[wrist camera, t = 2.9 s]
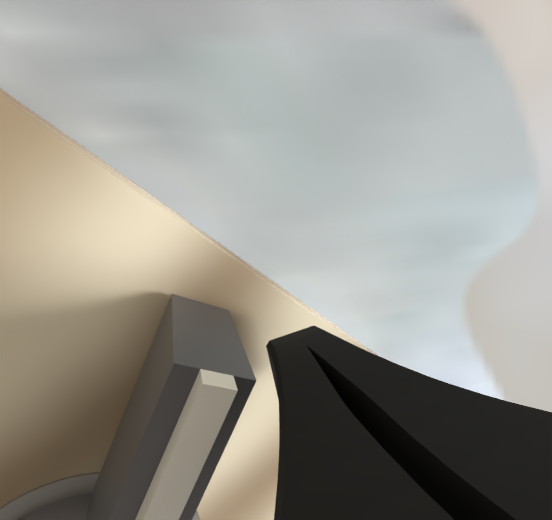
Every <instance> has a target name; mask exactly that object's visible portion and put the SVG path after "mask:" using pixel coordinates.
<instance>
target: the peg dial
mask: <svg viewBox="0 0 552 520" xmlns="http://www.w3.org/2000/svg"><path fill="white" fill-rule="evenodd" d="M255 383H256V378H255V376H254V373H253V370H252V368H251V365H250V363H249V360H248V358H247V355H246V353H245V350H244V348H243V345H242V343H241V340H240V338H239V335H238V332H237V330H236V327H235V325H234V322H233V320H232V317H231V315H230V312H229V310H227V309H223V308H220V307H216V306H213V305H209V304H206V303H202V302H199V301H196V300H192V299H189V298H185V297H182V296H178V295H175V294H172V295H171V297H170V300H169V302H168V305H167V307H166V310H165V312H164V314H163V317H162V319H161V322H160V324H159V327H158V329H157V332H156V334H155V337H154V339H153V342H152V344H151V347H150V349H149V352H148V354H147V357H146V359H145V362H144V364H143V367H142V369H141V372H140V374H139V377H138V379H137V382H136V384H135V387H134V389H133V392H132V394H131V397H130V399H129V402H128V404H127V407H126V409H125V412H124V414H123V417H122V419H121V422H120V424H119V426H118V429H117V431H116V434H115V436H114V439H113V441H112V444H111V446H110V449H109V451H108V454H107V456H106V459H105V461H104V464H103V466H102V469H101V471H100V474H99V476H98V479H97V481H96V484H95V486H94V489H93V491H92V494H88V495H83V496H77V497H72V498H69V499H65V500H61V501H57V502H55V503H52V504H49V505H46V506H44V507H41V508H39V509H36V510H34V511H32V512H30V513H28V514H26V515H24V516H22V517H20V518H19V519H17V520H192V519H193V516H194V514H195V512H196V510H197V508H198V506H199V503H200V501H201V499H202V497H203V495H204V493H205V491H206V488H207V486H208V484H209V482H210V480H211V478H212V475H213V473H214V471H215V469H216V467H217V465H218V463H219V460H220V458H221V456H222V454H223V452H224V450H225V447H226V445H227V443H228V441H229V439H230V437H231V435H232V432H233V430H234V428H235V426H236V424H237V422H238V419H239V417H240V415H241V413H242V411H243V409H244V407H245V404H246V402H247V400H248V398H249V396H250V394H251V392H252V389H253V387H254V385H255Z"/></svg>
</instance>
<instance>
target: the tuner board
mask: <svg viewBox="0 0 552 520" xmlns="http://www.w3.org/2000/svg"><path fill="white" fill-rule="evenodd" d="M172 294H175V295H178V296H182V297H185V298H189V299H192V300H196V301H199V302H202V303H206V304H209V305H213V306H216V307H220V308H223V309H227V310H229V312H230V315H231V317H232V320H233V322H234V325H235V327H236V330H237V332H238V335H239V338H240V340H241V343H242V345H243V348H244V350H245V353H246V355H247V358H248V360H249V363H250V365H251V368H252V370H253V373H254V376H255V378H256V383H255V385H254V387H253V389H252V392H251V394H250V396H249V398H248V400H247V402H246V404H245V407H244V409H243V411H242V413H241V415H240V417H239V419H238V422H237V424H236V426H235V428H234V430H233V432H232V435H231V437H230V439H229V441H228V443H227V445H226V447H225V450H224V452H223V454H222V456H221V458H220V460H219V463H218V465H217V467H216V469H215V471H214V473H213V475H212V478H211V480H210V482H209V484H208V486H207V488H206V491H205V493H204V495H203V497H202V499H201V501H200V503H199V506H198V508H197V510H196V512H195V514H194V516H193V519H192V520H274V513H275V502H276V492H277V480H278V463H279V400H278V396H277V391H276V387H275V383H274V378H273V374H272V370H271V365H270V361H269V356H268V352H267V348H266V345H267V344H268V342H269V341H270V340H272V339H275V338H278V337H281V336H284V335H287V334H290V333H293V332H296V331H299V330H302V329H305V328H308V327H311V326H316V327H319V328H321V329H323V330H325V331H327V332H329V333H331V334H333V335H335V336H337V337H339V338H341V339H343V340H345V341H347V342H349V343H351V344H353V345H355V346H357V347H360V348H362V349H364V350H366V351H368V352H370V353H372V354H374V353H373V352H372V351H370V350H369V349H367V348H366V347H365V346H363V345H362V344H360V343H359V342H357V341H356V340H355V339H353V338H352V337H350V336H349V335H348V334H346V333H345V332H343V331H342V330H340V329H339V328H338V327H336V326H335V325H333V324H332V323H331V322H329V321H328V320H326V319H325V318H323V317H322V316H321V315H319V314H318V313H316V312H315V311H314V310H312V309H311V308H309V307H308V306H307V305H305V304H304V303H302V302H301V301H299V300H298V299H297V298H295V297H294V296H292V295H291V294H290V293H288V292H287V291H285V290H284V289H282V288H281V287H280V286H278V285H277V284H275V283H274V282H273V281H271V280H270V279H268V278H267V277H266V276H264V275H263V274H261V273H260V272H258V271H257V270H256V269H254V268H253V267H251V266H250V265H249V264H247V263H246V262H244V261H243V260H241V259H240V258H239V257H237V256H236V255H234V254H233V253H232V252H230V251H229V250H227V249H226V248H224V247H223V246H222V245H220V244H219V243H217V242H216V241H215V240H213V239H212V238H210V237H209V236H208V235H206V234H205V233H203V232H202V231H200V230H199V229H198V228H196V227H195V226H193V225H192V224H191V223H189V222H188V221H186V220H185V219H183V218H182V217H181V216H179V215H178V214H176V213H175V212H174V211H172V210H171V209H169V208H168V207H166V206H165V205H164V204H162V203H161V202H159V201H158V200H157V199H155V198H154V197H152V196H151V195H150V194H148V193H147V192H145V191H144V190H142V189H141V188H140V187H138V186H137V185H135V184H134V183H133V182H131V181H130V180H128V179H127V178H125V177H124V176H123V175H121V174H120V173H118V172H117V171H116V170H114V169H113V168H111V167H110V166H108V165H107V164H106V163H104V162H103V161H101V160H100V159H99V158H97V157H96V156H94V155H93V154H92V153H90V152H89V151H87V150H86V149H84V148H83V147H82V146H80V145H79V144H77V143H76V142H75V141H73V140H72V139H70V138H69V137H67V136H66V135H65V134H63V133H62V132H60V131H59V130H58V129H56V128H55V127H53V126H52V125H51V124H49V123H48V122H46V121H45V120H43V119H42V118H41V117H39V116H38V115H36V114H35V113H34V112H32V111H31V110H29V109H28V108H26V107H25V106H24V105H22V104H21V103H19V102H18V101H17V100H15V99H14V98H12V97H11V96H9V95H8V94H7V93H5V92H4V91H2V90H1V89H0V520H17V519H19V518H20V517H22V516H24V515H26V514H28V513H30V512H32V511H34V510H36V509H39V508H41V507H44V506H46V505H49V504H52V503H55V502H57V501H61V500H65V499H69V498H72V497H77V496H83V495H88V494H92V491H93V489H94V486H95V484H96V481H97V479H98V476H99V474H100V471H101V469H102V466H103V464H104V461H105V459H106V456H107V454H108V451H109V449H110V446H111V444H112V441H113V439H114V436H115V434H116V431H117V429H118V426H119V424H120V422H121V419H122V417H123V414H124V412H125V409H126V407H127V404H128V402H129V399H130V397H131V394H132V392H133V389H134V387H135V384H136V382H137V379H138V377H139V374H140V372H141V369H142V367H143V364H144V362H145V359H146V357H147V354H148V352H149V349H150V347H151V344H152V342H153V339H154V337H155V334H156V332H157V329H158V327H159V324H160V322H161V319H162V317H163V314H164V312H165V310H166V307H167V305H168V302H169V300H170V297H171V295H172ZM375 355H376V354H375Z"/></svg>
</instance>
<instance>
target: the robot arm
mask: <svg viewBox="0 0 552 520" xmlns="http://www.w3.org/2000/svg"><path fill="white" fill-rule="evenodd" d="M266 348H267V352H268V356H269V361H270V365H271V370H272V374H273V378H274V383H275V387H276V391H277V396H278V400H279V463H278V480H277V492H276V502H275V513H274V520H552V413H551V412H548V411H543V410H539V409H535V408H531V407H527V406H523V405H519V404H515V403H511V402H508V401H504V400H500V399H497V398H493V397H490V396H486V395H483V394H480V393H477V392H473V391H470V390H467V389H464V388H461V387H458V386H454V385H451V384H448V383H445V382H442V381H439V380H437V379H434V378H431V377H428V376H426V375H423V374H421V373H418V372H415V371H413V370H410V369H408V368H405V367H403V366H400V365H398V364H395V363H393V362H391V361H388V360H386V359H384V358H381V357H379V356H377V355H375V354H372V353H370V352H368V351H366V350H364V349H362V348H360V347H357V346H355V345H353V344H351V343H349V342H347V341H345V340H343V339H341V338H339V337H337V336H335V335H333V334H331V333H329V332H327V331H325V330H323V329H321V328H319V327H316V326H311V327H308V328H305V329H302V330H299V331H296V332H293V333H290V334H287V335H284V336H281V337H278V338H275V339H272V340H270V341H269V342H268V344H267V345H266Z"/></svg>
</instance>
